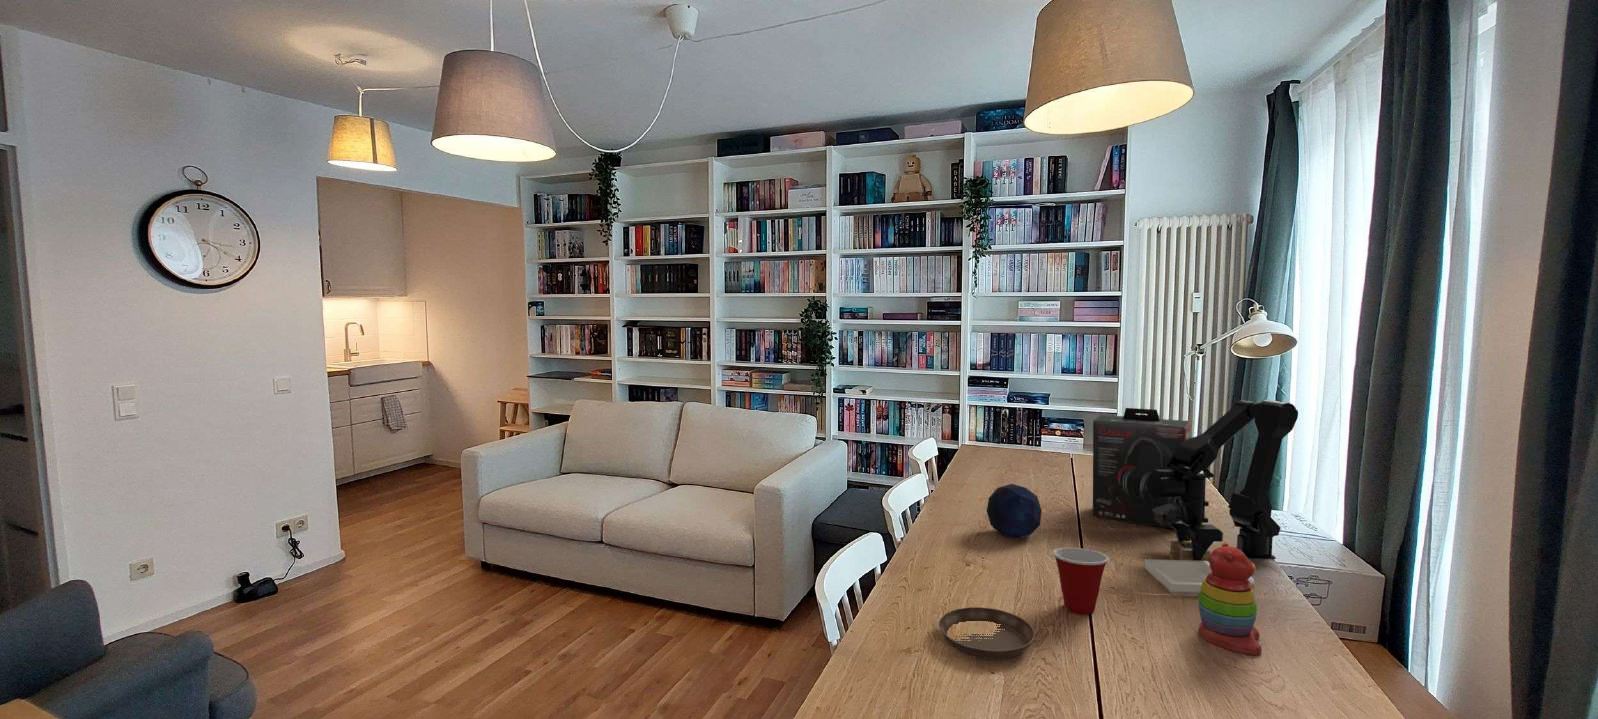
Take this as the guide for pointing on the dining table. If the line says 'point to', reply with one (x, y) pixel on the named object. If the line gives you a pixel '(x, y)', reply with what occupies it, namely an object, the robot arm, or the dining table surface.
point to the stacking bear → (1229, 602)
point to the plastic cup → (1080, 577)
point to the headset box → (1132, 462)
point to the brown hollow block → (1184, 552)
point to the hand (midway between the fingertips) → (1189, 556)
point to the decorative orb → (1014, 511)
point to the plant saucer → (1002, 643)
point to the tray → (1179, 575)
